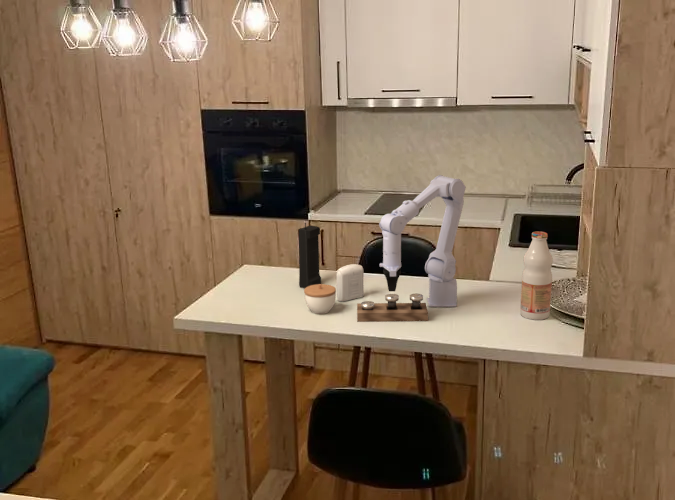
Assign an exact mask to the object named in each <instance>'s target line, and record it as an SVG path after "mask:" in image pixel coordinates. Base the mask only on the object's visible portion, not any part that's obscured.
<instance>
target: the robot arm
mask: <svg viewBox="0 0 675 500" xmlns="http://www.w3.org/2000/svg"><path fill="white" fill-rule="evenodd" d="M465 192H466V185H465V183H464V182H463V181H462V179H461V178H456V177H455V178H453V177H450V176H445V175H441V174H439V175H437V176H435V177H434V178H433V179H432V180H430V183H429V184H428V186H427V187H426V188H424V189H423V191H421V192H420V193H419V194H418V195H417V196H415V198H414V199H413V200H410V199H408V200H407V199H406V200H404V201H402V204H401V205H400V206H398V207H397V208H396V209H393V210H392V211H391V213H386V214H384V215H383V216H382V217H381V218H380V222H379V223H378V225H379V226H378V227H379V228H380V230H381V234H382V237H383V238H382V253H383V254H382V257H383V258H382V262H380V263H379V267H380V268H383V269H382V270H383V275H384V277H385V280H386V283H387V284H386V285H387V289H388V292H396V289H397V284H398V281H399V278H400V276H401V274H402V270H401V267H402V262H401V261H402V233H403V232H404V230H405V227H406V226H407V225H408V223H410V222H411V220H413V219H414V218H415V217H416V216H418V215H419V212H420V209H421V208H422V207H424V206H426V205H427V204H429V203H430V202H431V201H433V200H434V199H435V198H438V197H439V198H441V199H442V201H444V203H445V209H444V210H445V211H444V214H443V218H442V222H441V227H440V231H439V234H438V239H437V244H436V247H435V250H433V251H432V252H430V253H429V255H428V259H427V260H426V261H425V265H424V271H425V273H426V274H428V275H427V277H428V278H429V281H428V282H429V284H428V285H429V287H428V288H429V289H428V290H429V292H428V294H429V295H428V297H427V298H426V301H427V303H428V307H429V308H438V307H439V308H441V307H443V308H445V307H446V308H448V307H449V308H451V307H457V301H458V283H457V278H454V277H455V275H456V271H457V269H456V263H457V260H456V258H455V256H454V255H453V249H454V245H455V241H456V237H457V234H458V227H459V225H460V220H461V215H462V211H463V207H464V200H465V199H464V198H465V197H464V196H465Z"/></svg>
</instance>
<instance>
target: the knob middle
mask: <svg viewBox="0 0 675 500" xmlns="http://www.w3.org/2000/svg"><path fill="white" fill-rule="evenodd" d="M384 299H385V301H387V303H388V309H389V310H395V309H396V303H397V302H398V301H399V299H400V296H399V295H398V294H397V293H388V294H385V296H384Z"/></svg>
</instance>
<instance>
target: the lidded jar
mask: <svg viewBox="0 0 675 500" xmlns="http://www.w3.org/2000/svg"><path fill="white" fill-rule="evenodd" d="M303 291H304V300H305V304H306V306H307V307H308V309H309V311H311V313H313V314H317V315H323V314H327V313H329V312H330V311H331V310H332V308H333V307H334V306H335V303H336V299H337V287H335V286H334V285H331V284H324V283H321V284H316V285H311V286H308V287H306V288H303Z"/></svg>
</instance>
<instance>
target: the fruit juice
mask: <svg viewBox="0 0 675 500" xmlns="http://www.w3.org/2000/svg"><path fill="white" fill-rule="evenodd" d="M548 237H549V236H548V233H547V232H545V231H533V232H532V233H531V239H532V240H531V242H530V245H529V246H528V249H527V251H526V252H525V254H524V256H523V265H524V269H523V271H522V275H521V289H520V290H521V291H520V309H519V312H520V315H521V316H522V317H523V318H524V319H525V318H526V319H528V320H534V321H541V320H546V319H548V318H549V317H550V313H551V299H552V283H553V273H552V266H553V261H554V259H553V255H552V254H551V252H550V249H549V246H548V241H547V240H548Z"/></svg>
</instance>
